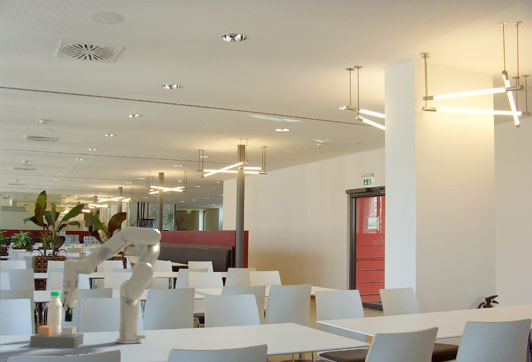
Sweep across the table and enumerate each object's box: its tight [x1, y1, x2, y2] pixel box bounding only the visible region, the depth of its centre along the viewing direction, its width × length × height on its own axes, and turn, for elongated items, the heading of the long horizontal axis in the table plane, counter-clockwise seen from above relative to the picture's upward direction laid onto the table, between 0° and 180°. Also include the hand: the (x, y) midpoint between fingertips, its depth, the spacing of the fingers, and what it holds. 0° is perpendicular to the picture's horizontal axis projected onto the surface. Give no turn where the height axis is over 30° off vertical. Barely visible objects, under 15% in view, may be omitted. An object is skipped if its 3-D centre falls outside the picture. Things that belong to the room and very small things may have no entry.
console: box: [29, 332, 84, 349], centre depth 304 cm, size 22×12×5 cm, turn 85°
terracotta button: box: [37, 325, 53, 336], centre depth 305 cm, size 5×5×5 cm
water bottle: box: [46, 290, 63, 333], centre depth 321 cm, size 7×7×25 cm
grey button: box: [61, 325, 77, 336], centre depth 304 cm, size 5×5×5 cm
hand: (68, 321), depth 304 cm, fingers closed
